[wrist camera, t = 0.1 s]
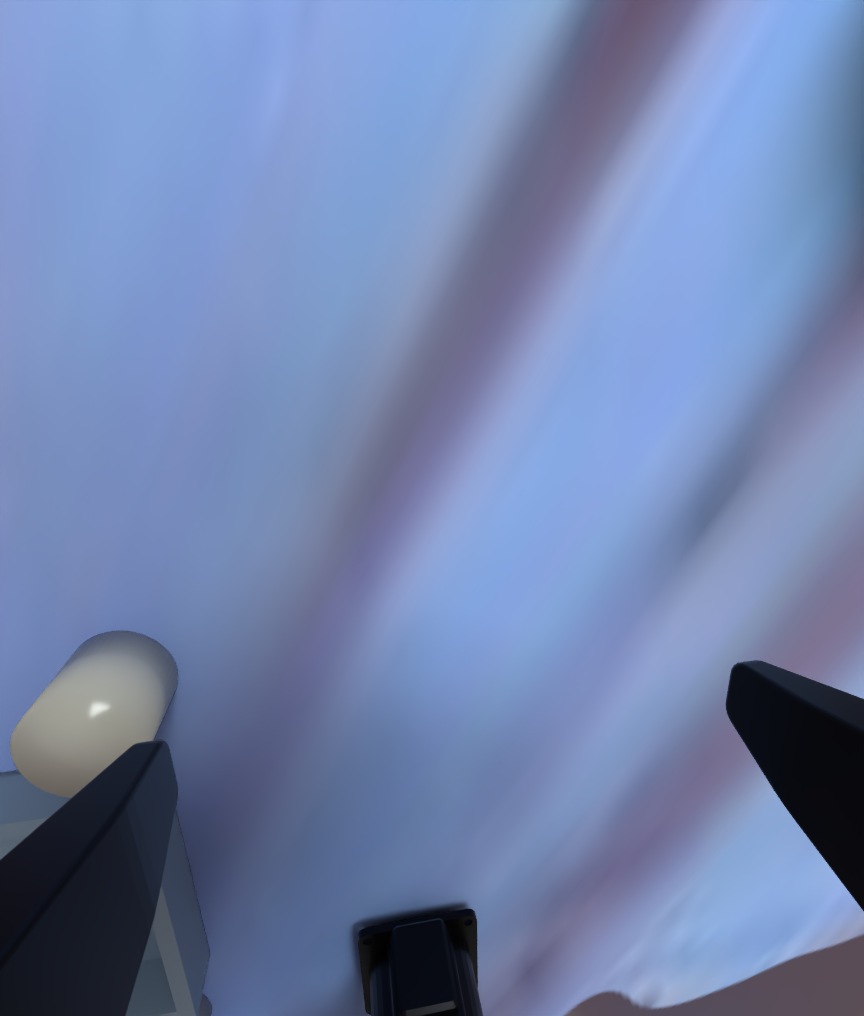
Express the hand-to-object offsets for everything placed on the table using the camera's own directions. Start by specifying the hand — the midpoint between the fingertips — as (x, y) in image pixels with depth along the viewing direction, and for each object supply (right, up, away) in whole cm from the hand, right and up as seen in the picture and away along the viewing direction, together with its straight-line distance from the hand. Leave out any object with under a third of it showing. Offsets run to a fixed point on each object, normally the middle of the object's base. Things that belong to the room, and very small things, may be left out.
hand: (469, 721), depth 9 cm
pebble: (-14, -4, +15) cm, 21 cm away
